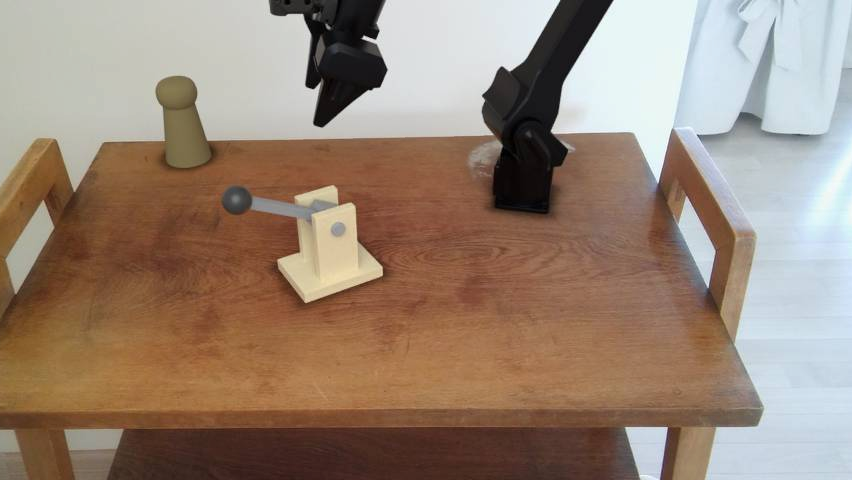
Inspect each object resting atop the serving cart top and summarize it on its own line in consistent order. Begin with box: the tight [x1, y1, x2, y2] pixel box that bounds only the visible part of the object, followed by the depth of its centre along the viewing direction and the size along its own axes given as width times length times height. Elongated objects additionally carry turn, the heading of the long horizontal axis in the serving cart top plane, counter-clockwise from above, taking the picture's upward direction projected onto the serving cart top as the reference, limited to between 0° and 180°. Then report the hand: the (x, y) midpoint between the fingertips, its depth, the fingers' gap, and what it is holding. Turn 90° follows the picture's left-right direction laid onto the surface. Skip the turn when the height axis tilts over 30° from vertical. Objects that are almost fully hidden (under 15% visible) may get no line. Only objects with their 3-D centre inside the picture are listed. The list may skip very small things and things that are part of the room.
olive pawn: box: [154, 75, 212, 169], centre depth 100 cm, size 6×6×11 cm
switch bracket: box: [276, 184, 384, 304], centre depth 79 cm, size 9×7×9 cm
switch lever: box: [221, 184, 339, 226], centre depth 74 cm, size 13×3×3 cm, turn 119°
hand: (313, 106), depth 81 cm, fingers open, 9 cm apart
